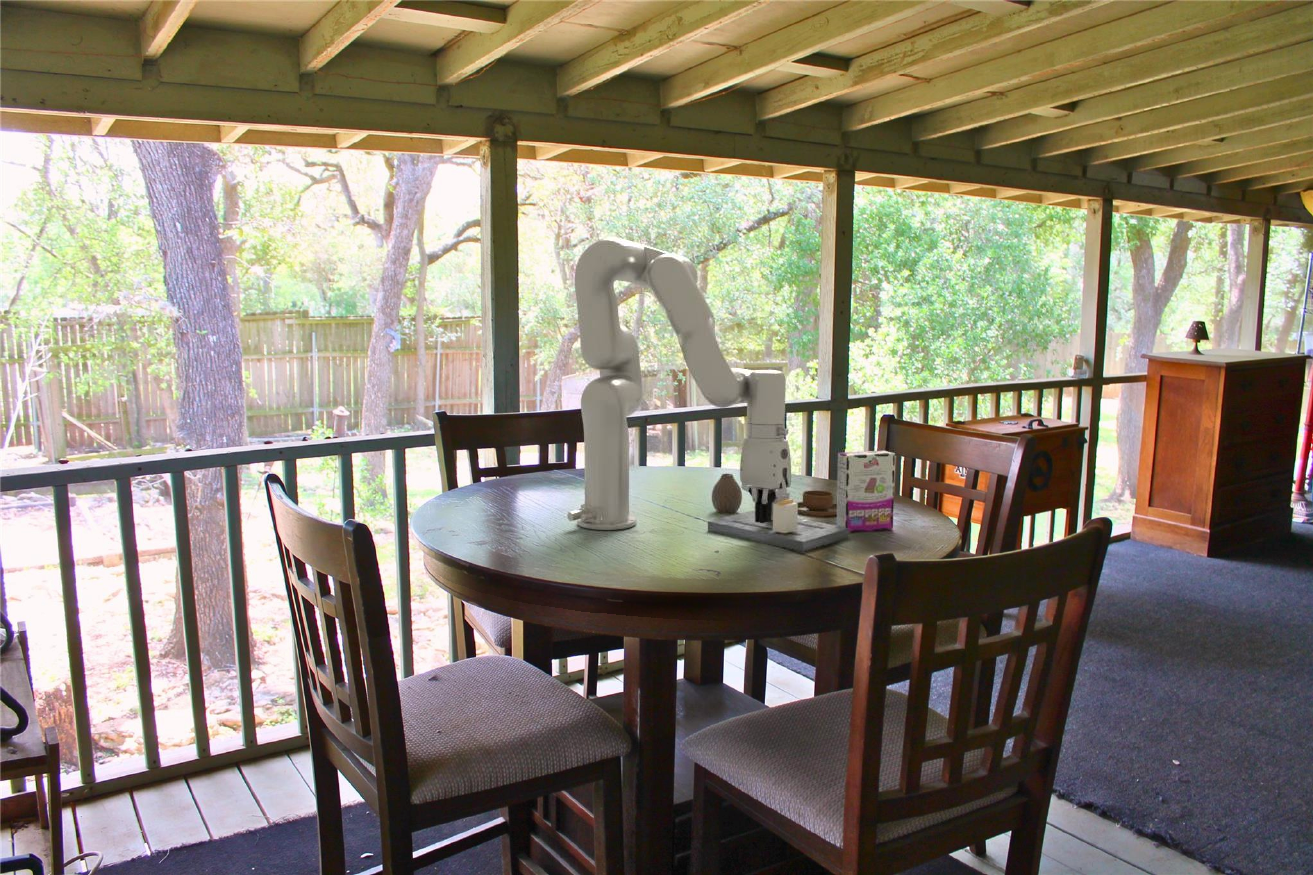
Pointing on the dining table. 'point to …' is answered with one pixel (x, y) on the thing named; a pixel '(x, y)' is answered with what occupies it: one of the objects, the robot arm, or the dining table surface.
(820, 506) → the place setting
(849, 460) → the candy bar box
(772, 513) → the grey fader
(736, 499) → the vase
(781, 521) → the ivory fader
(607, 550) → the dining table surface
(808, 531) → the console
